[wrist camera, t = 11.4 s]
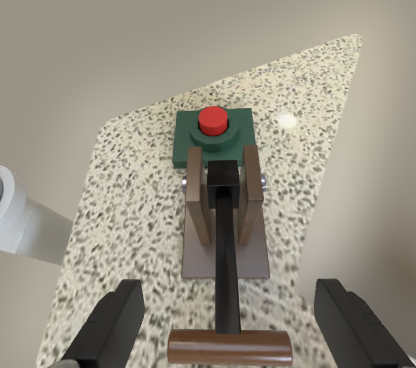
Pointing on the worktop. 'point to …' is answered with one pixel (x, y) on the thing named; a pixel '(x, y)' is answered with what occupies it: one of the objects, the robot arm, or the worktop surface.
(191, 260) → the bracket
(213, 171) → the lever
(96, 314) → the robot arm
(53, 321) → the worktop surface
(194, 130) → the button box
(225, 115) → the button
